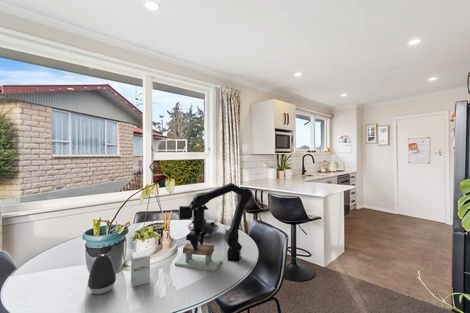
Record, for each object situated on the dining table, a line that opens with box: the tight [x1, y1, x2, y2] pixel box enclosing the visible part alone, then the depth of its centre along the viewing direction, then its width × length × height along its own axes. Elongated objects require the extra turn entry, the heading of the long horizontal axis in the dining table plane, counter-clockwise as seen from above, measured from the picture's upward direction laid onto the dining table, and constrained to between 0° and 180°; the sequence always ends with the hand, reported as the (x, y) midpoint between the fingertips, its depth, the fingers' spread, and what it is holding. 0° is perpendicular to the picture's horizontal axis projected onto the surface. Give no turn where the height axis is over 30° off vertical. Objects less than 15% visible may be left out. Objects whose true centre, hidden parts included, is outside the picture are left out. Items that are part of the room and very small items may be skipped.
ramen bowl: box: [186, 219, 221, 238], centre depth 163 cm, size 25×23×8 cm
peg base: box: [174, 254, 222, 272], centre depth 122 cm, size 22×10×6 cm, turn 77°
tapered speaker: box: [87, 253, 117, 295], centre depth 98 cm, size 10×10×15 cm
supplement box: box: [130, 249, 151, 288], centre depth 105 cm, size 7×7×13 cm
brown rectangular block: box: [182, 242, 215, 257], centre depth 122 cm, size 15×6×3 cm, turn 82°
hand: (198, 247), depth 122 cm, fingers open, 7 cm apart
